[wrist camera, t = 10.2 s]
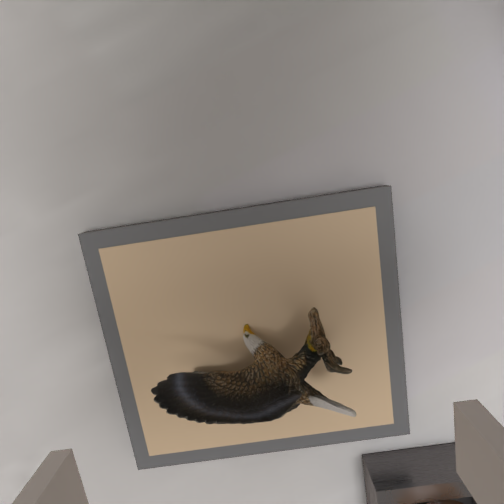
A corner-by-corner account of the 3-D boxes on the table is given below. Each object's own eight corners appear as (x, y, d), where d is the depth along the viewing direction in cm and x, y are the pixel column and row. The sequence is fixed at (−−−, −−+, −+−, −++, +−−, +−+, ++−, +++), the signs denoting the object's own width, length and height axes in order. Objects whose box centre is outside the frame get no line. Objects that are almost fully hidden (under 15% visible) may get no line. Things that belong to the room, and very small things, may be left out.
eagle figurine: (277, 258, 20) (135, 350, 19) (359, 356, 15) (168, 487, 14) (310, 327, 25) (199, 402, 24) (380, 418, 20) (241, 516, 19)
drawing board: (384, 185, 21) (391, 185, 20) (403, 423, 25) (410, 435, 24) (85, 231, 22) (77, 234, 21) (142, 458, 25) (137, 471, 24)
